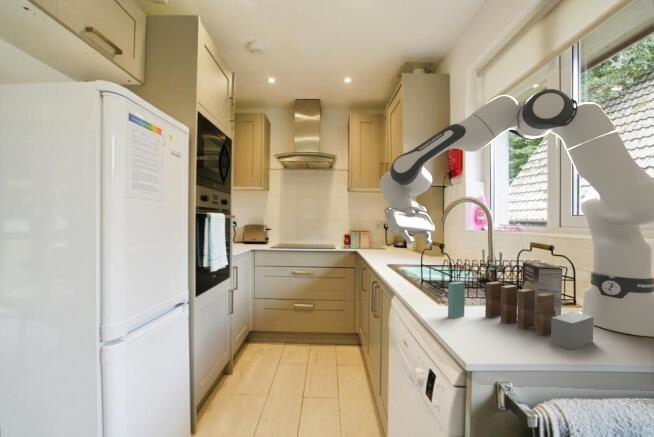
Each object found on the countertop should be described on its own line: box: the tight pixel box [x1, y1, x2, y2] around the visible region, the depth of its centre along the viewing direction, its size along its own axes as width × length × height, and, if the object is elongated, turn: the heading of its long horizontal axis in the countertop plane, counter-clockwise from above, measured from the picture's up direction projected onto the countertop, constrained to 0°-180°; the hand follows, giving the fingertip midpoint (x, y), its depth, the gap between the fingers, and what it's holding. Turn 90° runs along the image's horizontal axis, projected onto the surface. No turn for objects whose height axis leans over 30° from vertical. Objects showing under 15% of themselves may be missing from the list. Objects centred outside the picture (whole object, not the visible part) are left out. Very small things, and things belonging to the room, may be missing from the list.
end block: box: [550, 311, 594, 351], centre depth 66 cm, size 10×4×6 cm, turn 116°
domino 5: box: [535, 293, 555, 337], centre depth 72 cm, size 2×5×10 cm, turn 116°
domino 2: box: [484, 281, 503, 319], centre depth 84 cm, size 2×5×10 cm, turn 116°
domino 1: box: [447, 281, 466, 319], centre depth 83 cm, size 2×5×10 cm, turn 116°
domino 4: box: [516, 289, 535, 330], centre depth 76 cm, size 2×5×10 cm, turn 116°
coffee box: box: [521, 261, 563, 324], centre depth 81 cm, size 9×6×16 cm
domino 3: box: [500, 284, 519, 324], centre depth 80 cm, size 2×5×10 cm, turn 116°
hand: (420, 243), depth 92 cm, fingers open, 8 cm apart
